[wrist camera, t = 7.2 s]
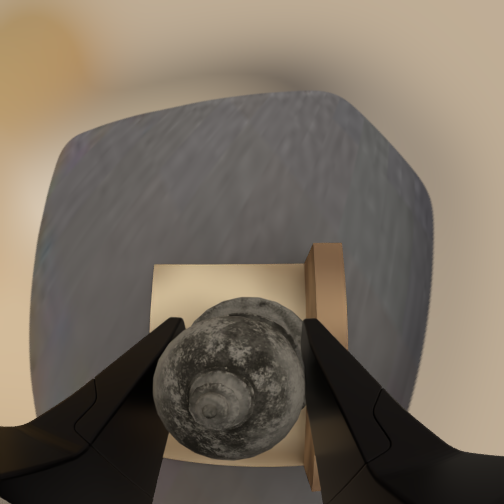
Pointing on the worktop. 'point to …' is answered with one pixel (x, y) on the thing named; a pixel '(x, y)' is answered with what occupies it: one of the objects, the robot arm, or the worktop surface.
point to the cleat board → (271, 288)
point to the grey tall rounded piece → (233, 379)
